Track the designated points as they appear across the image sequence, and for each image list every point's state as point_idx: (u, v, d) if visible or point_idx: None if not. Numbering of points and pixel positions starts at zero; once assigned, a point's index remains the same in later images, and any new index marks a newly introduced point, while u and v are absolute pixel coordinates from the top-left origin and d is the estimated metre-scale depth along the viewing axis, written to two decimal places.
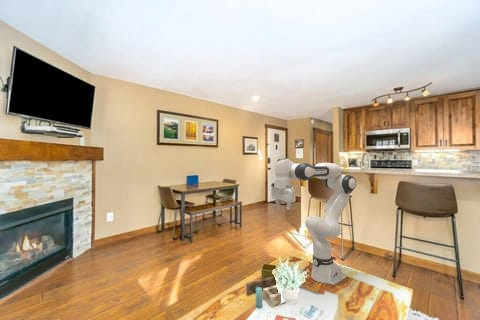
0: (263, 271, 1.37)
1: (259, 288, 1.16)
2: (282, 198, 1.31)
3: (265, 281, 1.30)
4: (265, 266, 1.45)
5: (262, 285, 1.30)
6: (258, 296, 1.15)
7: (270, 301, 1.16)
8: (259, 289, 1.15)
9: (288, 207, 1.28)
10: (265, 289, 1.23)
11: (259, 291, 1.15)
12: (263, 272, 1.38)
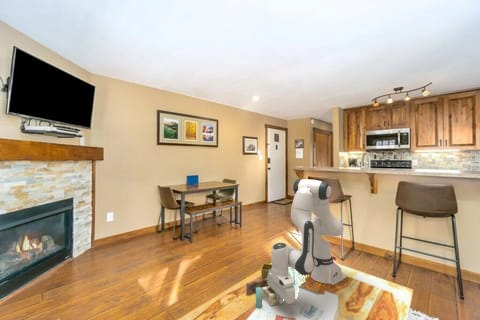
0: (263, 271, 1.37)
1: (259, 288, 1.16)
2: None
3: (265, 281, 1.30)
4: (265, 266, 1.45)
5: (262, 285, 1.30)
6: (258, 296, 1.15)
7: (269, 300, 1.17)
8: (259, 289, 1.15)
9: None
10: (264, 288, 1.24)
11: (259, 291, 1.15)
12: (263, 272, 1.38)
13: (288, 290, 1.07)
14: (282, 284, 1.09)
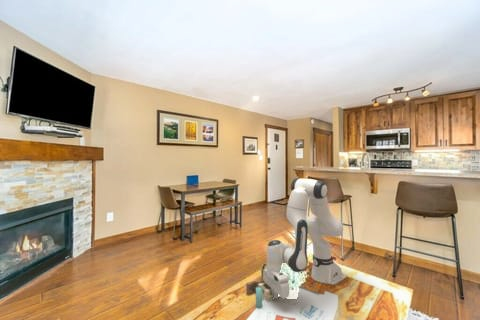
0: None
1: (259, 288, 1.16)
2: None
3: None
4: None
5: None
6: (258, 296, 1.15)
7: (265, 295, 1.21)
8: (259, 289, 1.15)
9: None
10: (260, 284, 1.28)
11: (259, 291, 1.15)
12: None
13: (282, 285, 1.12)
14: (277, 279, 1.13)
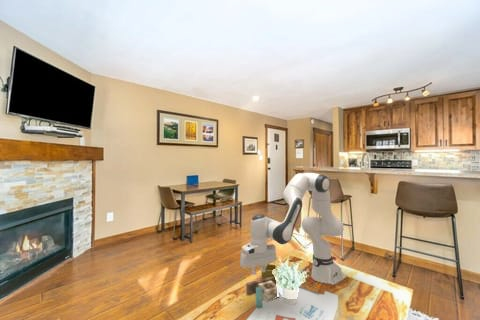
0: None
1: (259, 288, 1.16)
2: (263, 262, 1.16)
3: (265, 281, 1.30)
4: None
5: None
6: (258, 296, 1.15)
7: (265, 295, 1.21)
8: (259, 289, 1.15)
9: None
10: (260, 284, 1.28)
11: (259, 291, 1.15)
12: (263, 272, 1.38)
13: (241, 253, 1.14)
14: None
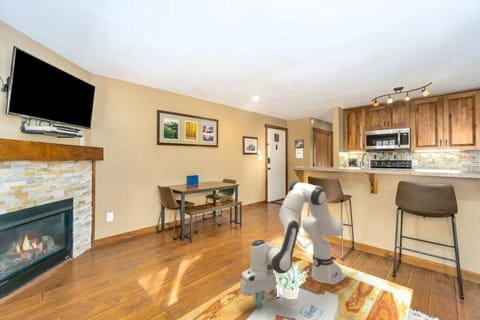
0: None
1: None
2: (263, 288, 1.15)
3: None
4: None
5: None
6: (258, 296, 1.15)
7: (265, 295, 1.21)
8: None
9: None
10: None
11: None
12: None
13: (241, 280, 1.14)
14: None
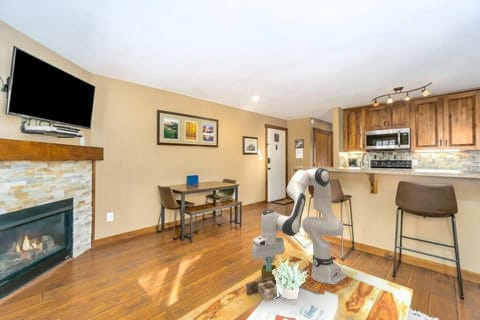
0: (263, 271, 1.37)
1: None
2: (273, 253, 1.25)
3: (265, 281, 1.30)
4: (265, 266, 1.45)
5: None
6: (268, 260, 1.25)
7: (265, 295, 1.21)
8: None
9: None
10: (260, 284, 1.28)
11: (269, 256, 1.25)
12: (263, 272, 1.38)
13: (253, 245, 1.24)
14: None
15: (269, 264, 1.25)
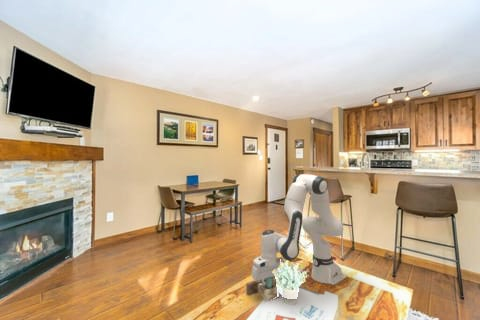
0: None
1: (269, 277, 1.26)
2: (273, 274, 1.25)
3: (265, 281, 1.30)
4: None
5: None
6: (268, 284, 1.24)
7: (265, 295, 1.21)
8: (269, 277, 1.25)
9: None
10: (260, 284, 1.28)
11: (269, 279, 1.24)
12: None
13: (253, 266, 1.24)
14: None
15: (269, 288, 1.24)
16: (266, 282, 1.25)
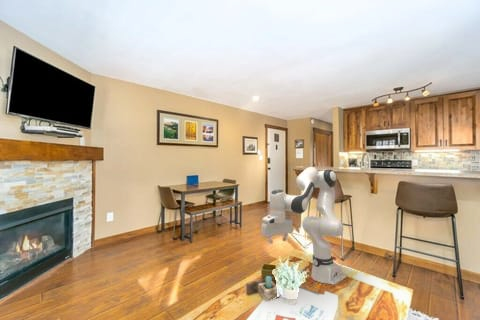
0: (263, 271, 1.37)
1: (269, 277, 1.26)
2: (282, 232, 1.28)
3: (265, 281, 1.30)
4: (265, 266, 1.45)
5: None
6: (268, 284, 1.24)
7: (265, 295, 1.21)
8: (269, 277, 1.25)
9: None
10: (260, 284, 1.28)
11: (269, 279, 1.24)
12: (263, 272, 1.38)
13: (262, 224, 1.26)
14: None
15: (269, 288, 1.24)
16: (266, 282, 1.25)
